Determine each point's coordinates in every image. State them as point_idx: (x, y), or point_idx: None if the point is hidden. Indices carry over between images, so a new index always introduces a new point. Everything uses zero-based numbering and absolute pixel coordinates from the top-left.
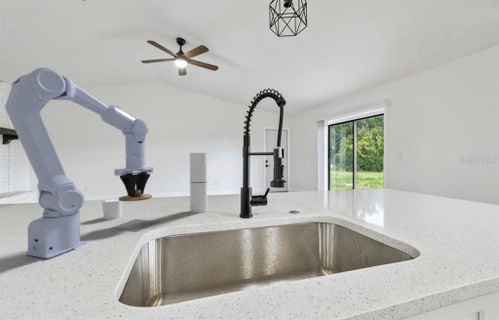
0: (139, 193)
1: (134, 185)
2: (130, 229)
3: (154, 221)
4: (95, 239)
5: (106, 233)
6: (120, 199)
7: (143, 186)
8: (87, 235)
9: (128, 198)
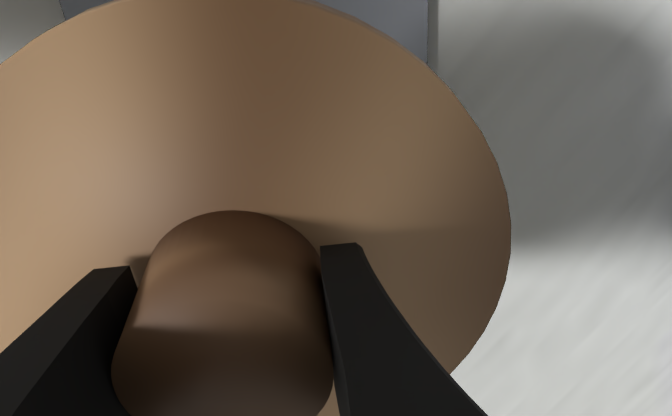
0: (214, 252)
1: (395, 395)
2: (393, 21)
3: (83, 8)
4: (632, 101)
5: (500, 151)
6: (492, 307)
7: (32, 379)
8: (562, 230)
9: (421, 250)
